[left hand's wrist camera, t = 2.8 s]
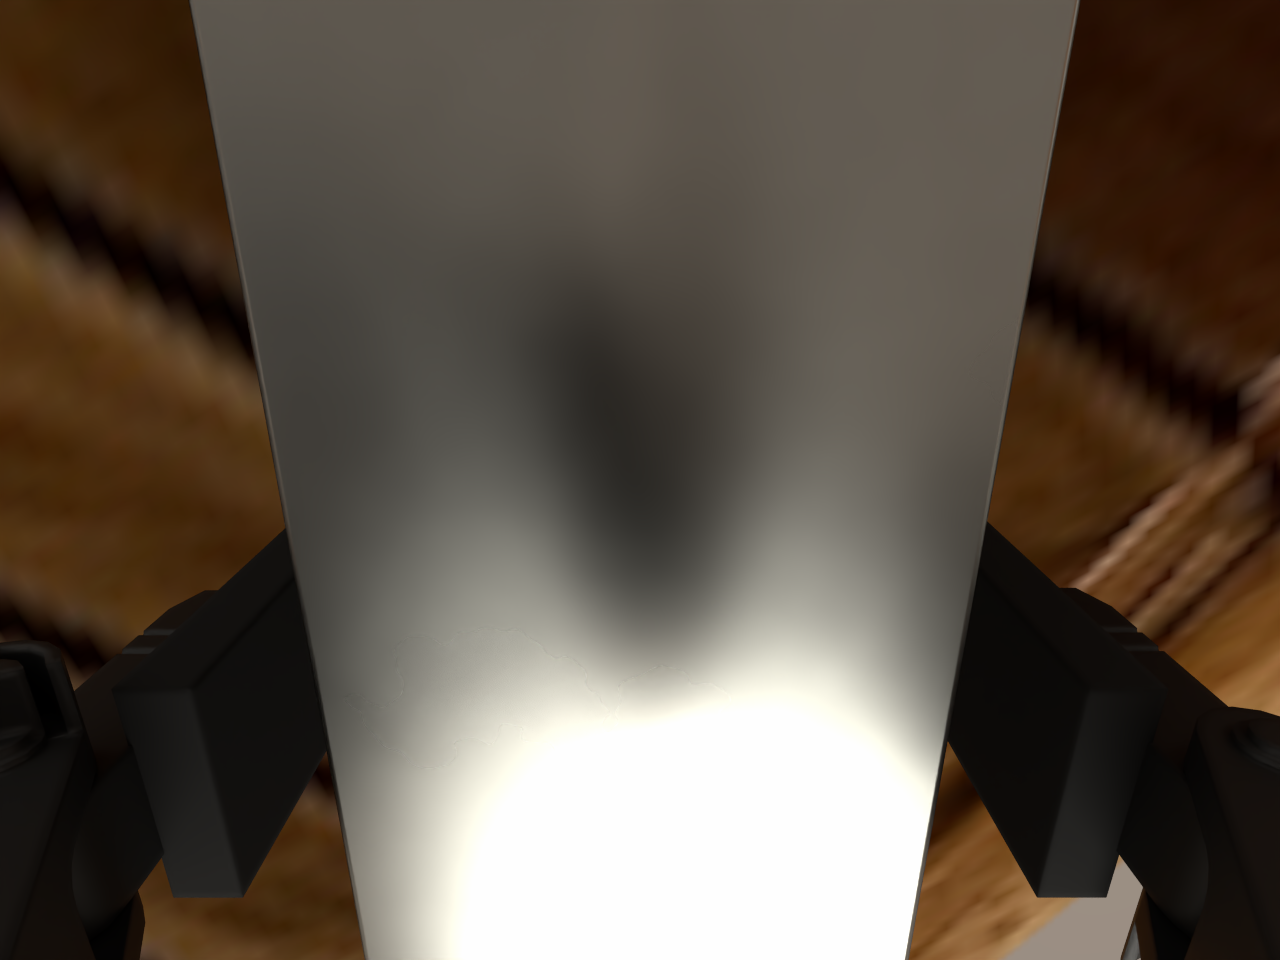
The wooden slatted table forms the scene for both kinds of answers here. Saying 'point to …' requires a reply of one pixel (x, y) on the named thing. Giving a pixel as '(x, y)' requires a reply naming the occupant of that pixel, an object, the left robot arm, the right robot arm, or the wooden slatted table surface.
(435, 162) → the bar
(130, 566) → the wooden slatted table surface
